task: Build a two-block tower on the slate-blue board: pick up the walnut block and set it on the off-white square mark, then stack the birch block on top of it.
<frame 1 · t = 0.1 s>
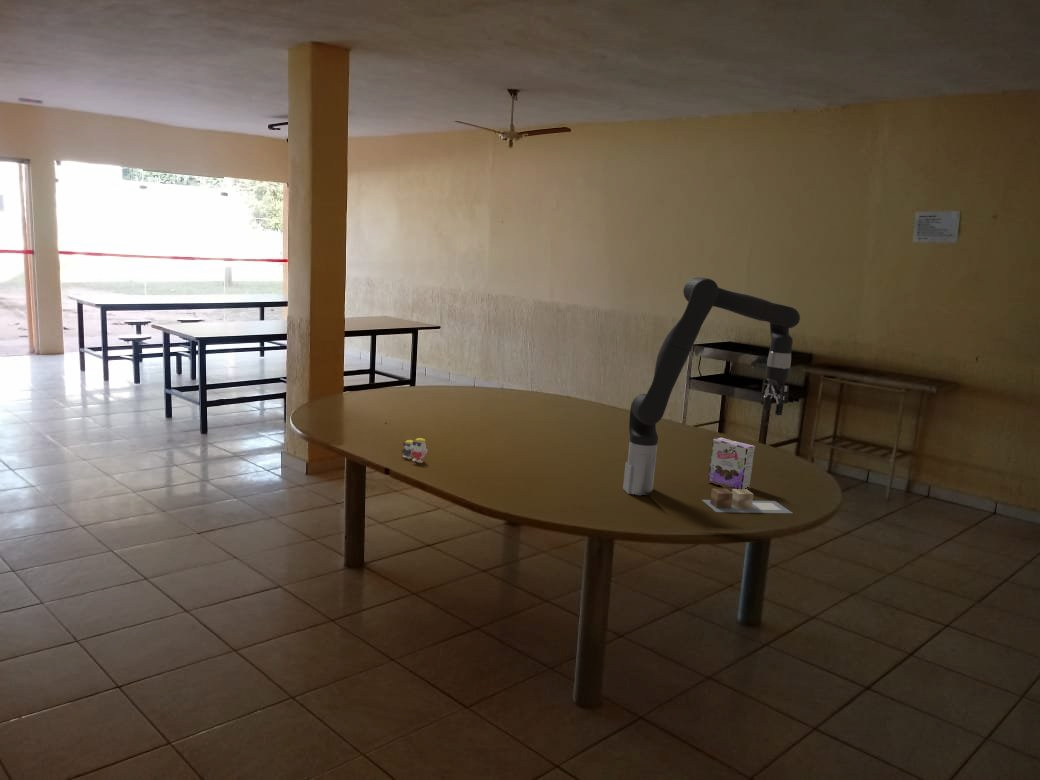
hand: (772, 412, 270), 29 cm above the table, tool pointing down, fingers open, 8 cm apart
toy figures: (414, 459, 287), on the table
candy box: (728, 487, 281), on the table
birch block: (740, 506, 256), point 1 cm above the table, touching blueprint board
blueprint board: (746, 509, 256), on the table
walnut block: (720, 505, 254), point 1 cm above the table, touching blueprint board
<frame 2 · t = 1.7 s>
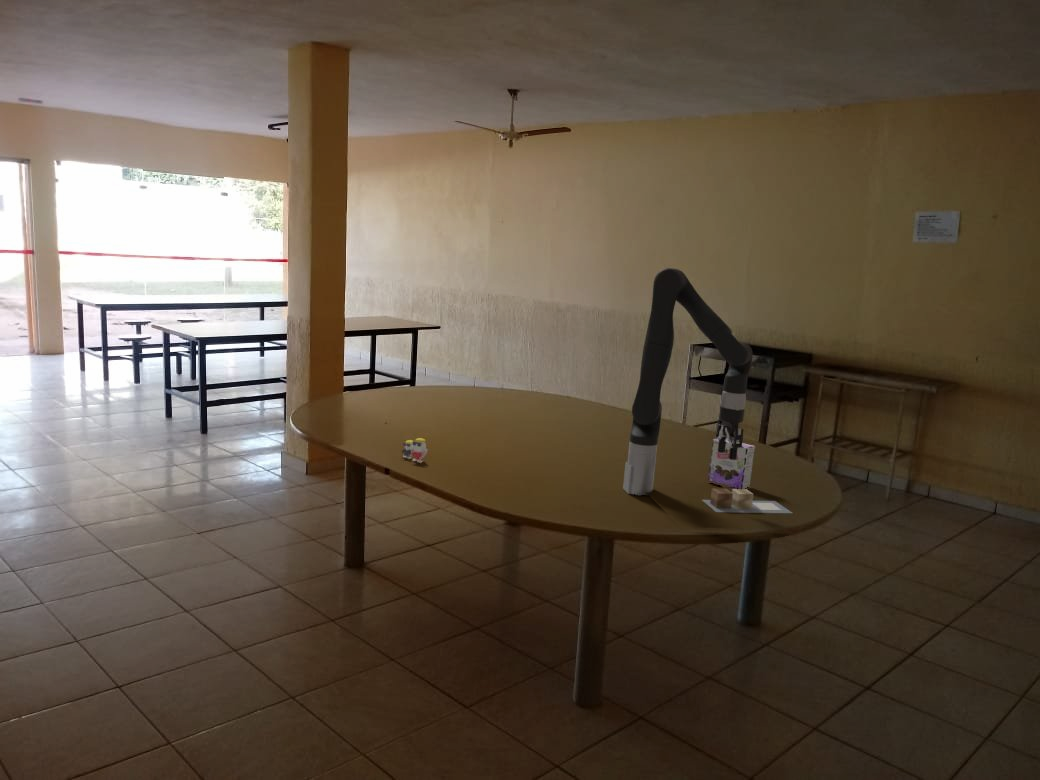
hand: (726, 455, 251), 18 cm above the table, tool pointing down, fingers open, 8 cm apart
nothing on the table moved.
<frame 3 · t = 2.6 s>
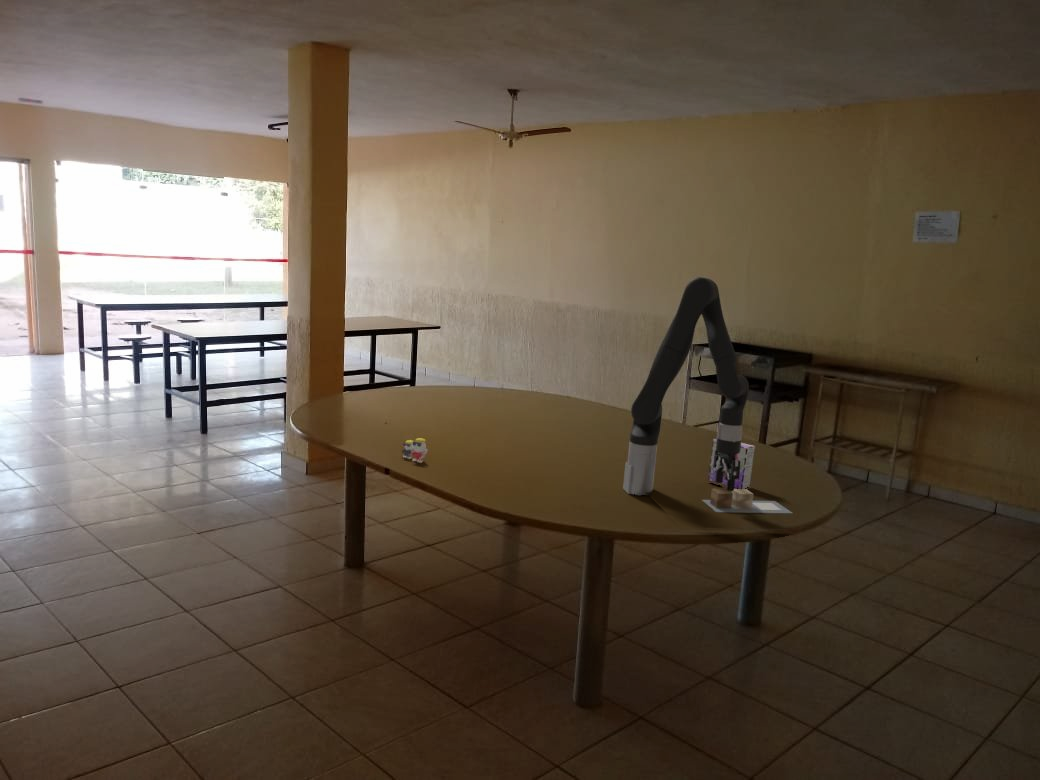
hand: (724, 486, 253), 8 cm above the table, tool pointing down, fingers open, 8 cm apart
nothing on the table moved.
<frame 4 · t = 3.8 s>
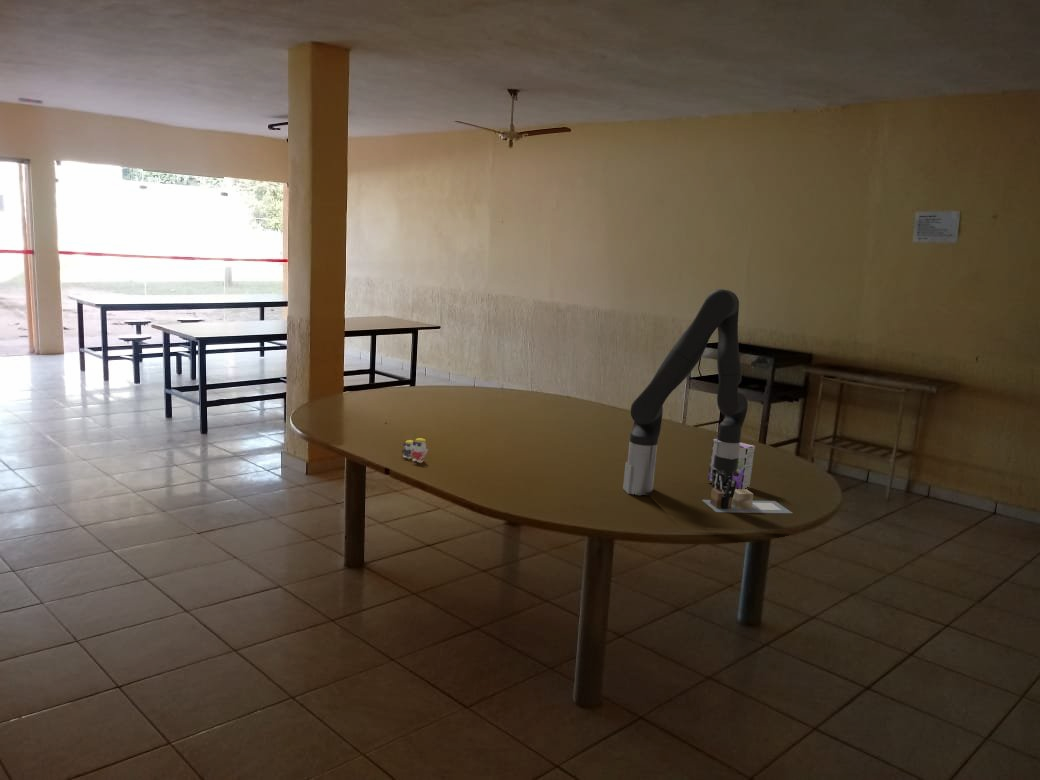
hand: (720, 505, 254), 1 cm above the table, tool pointing down, fingers closed on walnut block, 5 cm apart
walnut block: (720, 505, 254), point 1 cm above the table, touching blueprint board, gripper
everything else where it was.
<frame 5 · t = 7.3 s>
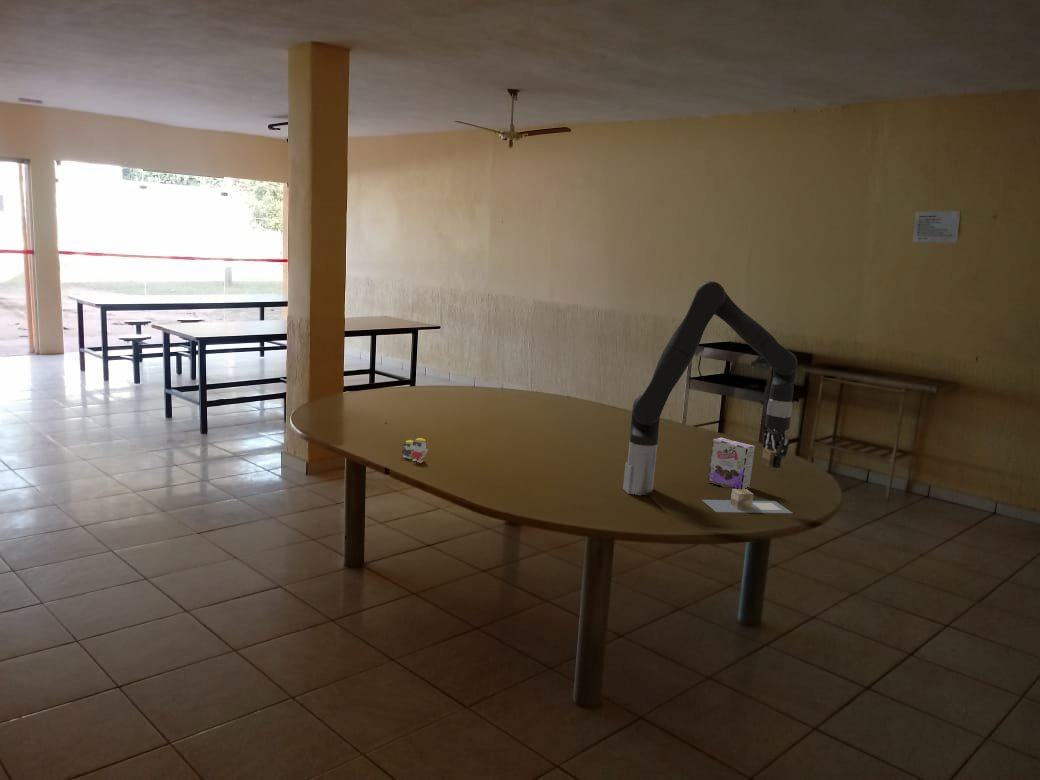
hand: (772, 464, 255), 15 cm above the table, tool pointing down, fingers closed on walnut block, 5 cm apart
walnut block: (772, 465, 255), point 15 cm above the table, touching gripper
everything else where it was.
when the fingers open (3 cm above the table, at t = 9.8 s): walnut block drops 2 cm, resting on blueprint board.
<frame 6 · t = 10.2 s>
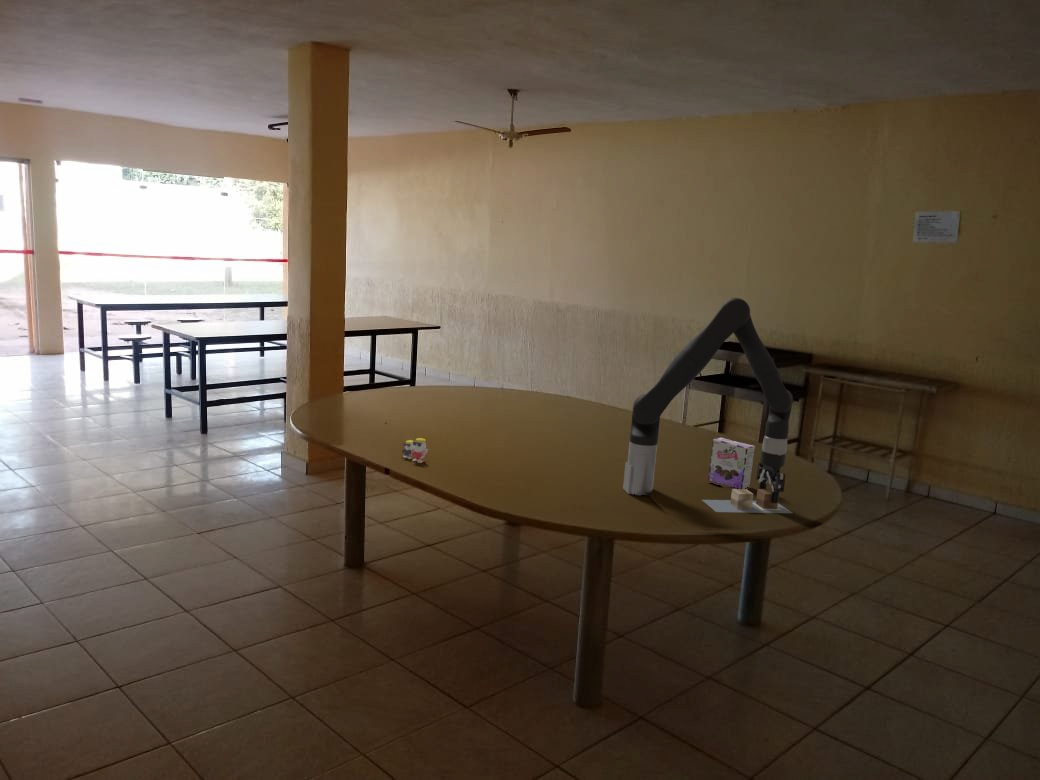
hand: (767, 498, 257), 4 cm above the table, tool pointing down, fingers open, 8 cm apart
walnut block: (766, 506, 257), point 1 cm above the table, touching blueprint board
everything else where it was.
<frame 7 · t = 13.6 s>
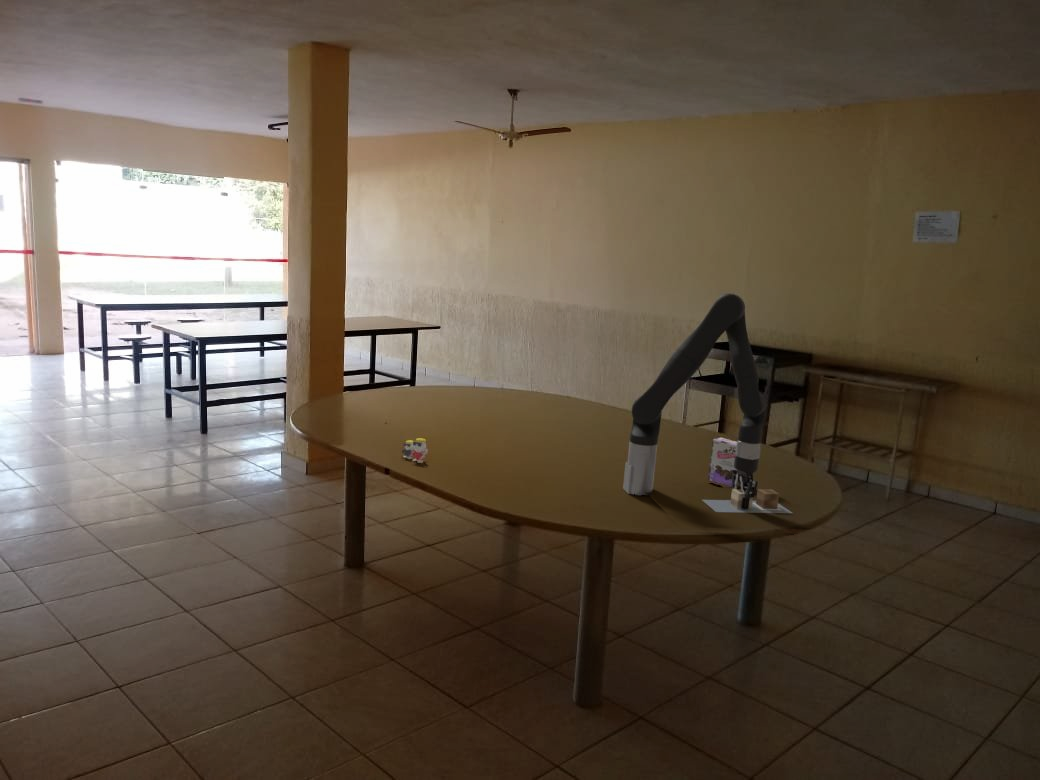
hand: (741, 505, 255), 1 cm above the table, tool pointing down, fingers closed on birch block, 5 cm apart
birch block: (740, 506, 256), point 1 cm above the table, touching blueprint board, gripper
everything else where it was.
when the fingers open (8 cm above the table, at t = 18.8 s): birch block drops 2 cm, resting on walnut block.
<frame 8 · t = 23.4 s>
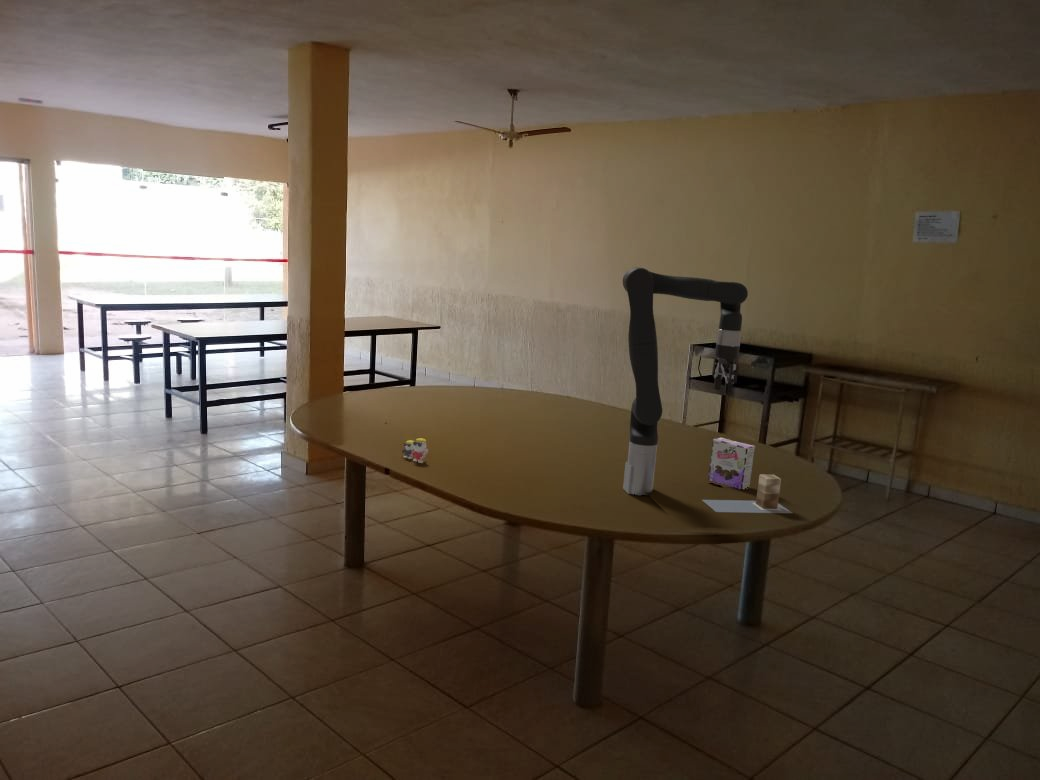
hand: (722, 392, 261), 36 cm above the table, tool pointing down, fingers open, 8 cm apart
birch block: (768, 491, 256), point 6 cm above the table, touching walnut block
walnut block: (766, 506, 257), point 1 cm above the table, touching birch block, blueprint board
everything else where it was.
at the end: walnut block 0.2 cm from the target spot on the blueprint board, point 1.3 cm above the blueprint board's base; birch block 0.0 cm off-centre on the walnut block, point 5.0 cm above the walnut block's base; birch block tilted 0° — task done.
